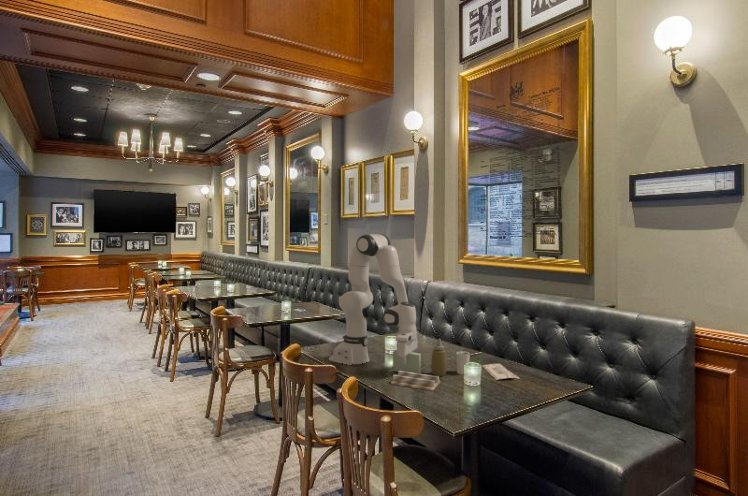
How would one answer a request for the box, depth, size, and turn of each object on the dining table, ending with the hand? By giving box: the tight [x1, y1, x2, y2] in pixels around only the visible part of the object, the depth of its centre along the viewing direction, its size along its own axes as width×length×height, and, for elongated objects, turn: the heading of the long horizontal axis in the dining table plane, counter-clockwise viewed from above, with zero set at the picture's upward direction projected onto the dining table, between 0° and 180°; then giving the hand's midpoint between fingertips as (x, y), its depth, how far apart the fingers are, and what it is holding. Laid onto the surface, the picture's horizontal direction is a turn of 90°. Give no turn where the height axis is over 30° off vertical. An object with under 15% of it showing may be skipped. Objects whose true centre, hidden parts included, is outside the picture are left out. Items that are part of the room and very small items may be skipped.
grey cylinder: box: [455, 351, 471, 376], centre depth 223 cm, size 7×7×10 cm
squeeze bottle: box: [430, 338, 448, 377], centre depth 220 cm, size 8×8×18 cm
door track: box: [390, 371, 441, 392], centre depth 207 cm, size 20×12×4 cm, turn 65°
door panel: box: [392, 349, 422, 374], centre depth 224 cm, size 14×3×10 cm, turn 65°
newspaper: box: [481, 363, 521, 381], centre depth 223 cm, size 23×12×2 cm, turn 4°
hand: (408, 361), depth 224 cm, fingers open, 8 cm apart
